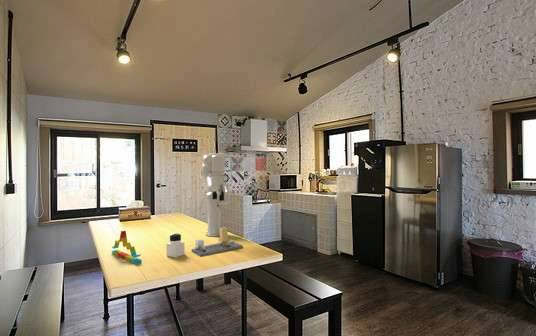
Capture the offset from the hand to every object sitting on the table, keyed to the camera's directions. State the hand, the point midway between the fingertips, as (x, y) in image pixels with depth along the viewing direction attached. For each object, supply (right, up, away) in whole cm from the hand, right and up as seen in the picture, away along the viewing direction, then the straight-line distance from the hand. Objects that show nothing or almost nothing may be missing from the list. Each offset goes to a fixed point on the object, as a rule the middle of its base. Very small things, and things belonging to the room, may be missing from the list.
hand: (218, 199), depth 200 cm
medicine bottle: (-20, -29, -28) cm, 45 cm away
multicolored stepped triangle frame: (-46, -29, -32) cm, 63 cm away
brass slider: (+7, -26, -13) cm, 30 cm away
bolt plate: (+3, -28, -18) cm, 34 cm away
